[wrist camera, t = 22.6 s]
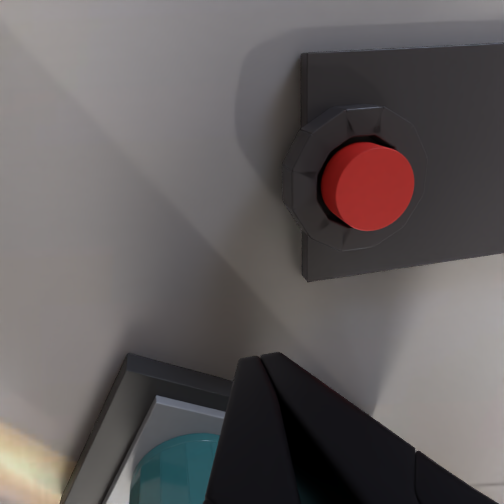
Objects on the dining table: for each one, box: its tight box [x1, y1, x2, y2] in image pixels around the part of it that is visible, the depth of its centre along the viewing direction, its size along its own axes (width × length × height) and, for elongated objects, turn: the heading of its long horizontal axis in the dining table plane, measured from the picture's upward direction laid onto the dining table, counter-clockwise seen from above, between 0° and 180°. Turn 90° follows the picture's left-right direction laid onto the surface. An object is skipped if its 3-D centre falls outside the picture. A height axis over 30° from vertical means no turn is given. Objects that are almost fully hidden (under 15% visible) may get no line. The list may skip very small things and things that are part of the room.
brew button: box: [321, 142, 414, 231], centre depth 18 cm, size 4×4×2 cm
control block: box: [282, 43, 504, 282], centre depth 21 cm, size 19×11×2 cm, turn 93°
